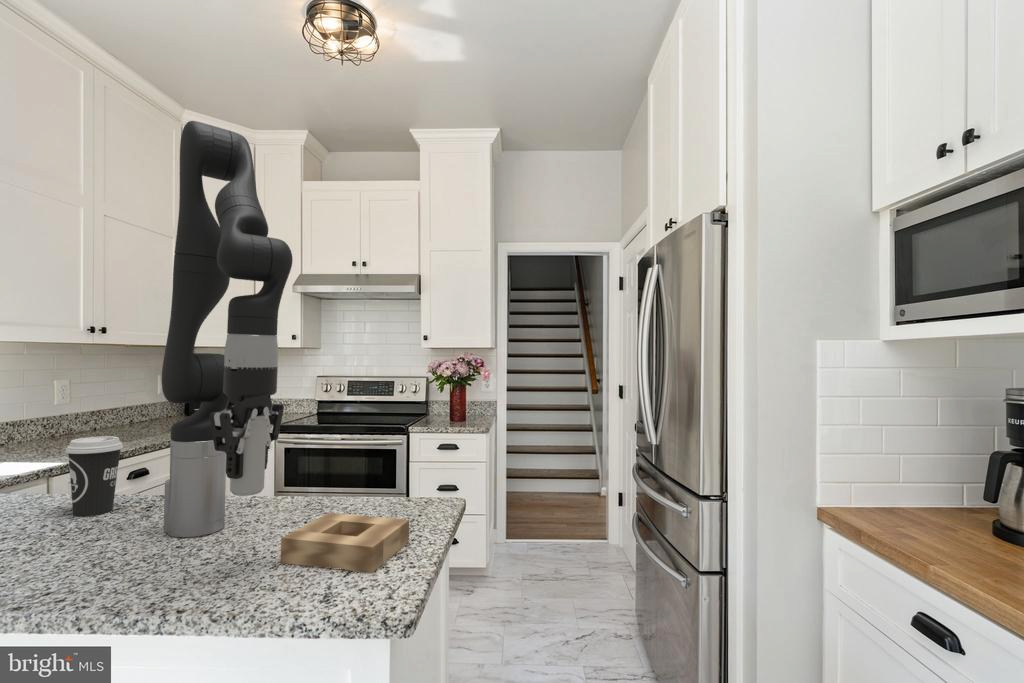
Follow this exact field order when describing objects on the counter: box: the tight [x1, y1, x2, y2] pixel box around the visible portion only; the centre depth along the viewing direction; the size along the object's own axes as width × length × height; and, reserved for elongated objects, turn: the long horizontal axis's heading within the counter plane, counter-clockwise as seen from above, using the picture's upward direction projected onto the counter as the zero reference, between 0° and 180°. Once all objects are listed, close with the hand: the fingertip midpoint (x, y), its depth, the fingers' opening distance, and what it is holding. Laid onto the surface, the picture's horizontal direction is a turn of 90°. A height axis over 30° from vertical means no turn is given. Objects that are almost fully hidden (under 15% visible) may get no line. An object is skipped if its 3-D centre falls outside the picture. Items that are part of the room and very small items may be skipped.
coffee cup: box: [64, 435, 124, 518], centre depth 112 cm, size 10×10×15 cm
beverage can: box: [229, 415, 267, 497], centre depth 84 cm, size 5×5×12 cm
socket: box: [280, 512, 410, 574], centre depth 92 cm, size 16×14×4 cm
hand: (247, 473), depth 84 cm, fingers closed on beverage can, 5 cm apart
